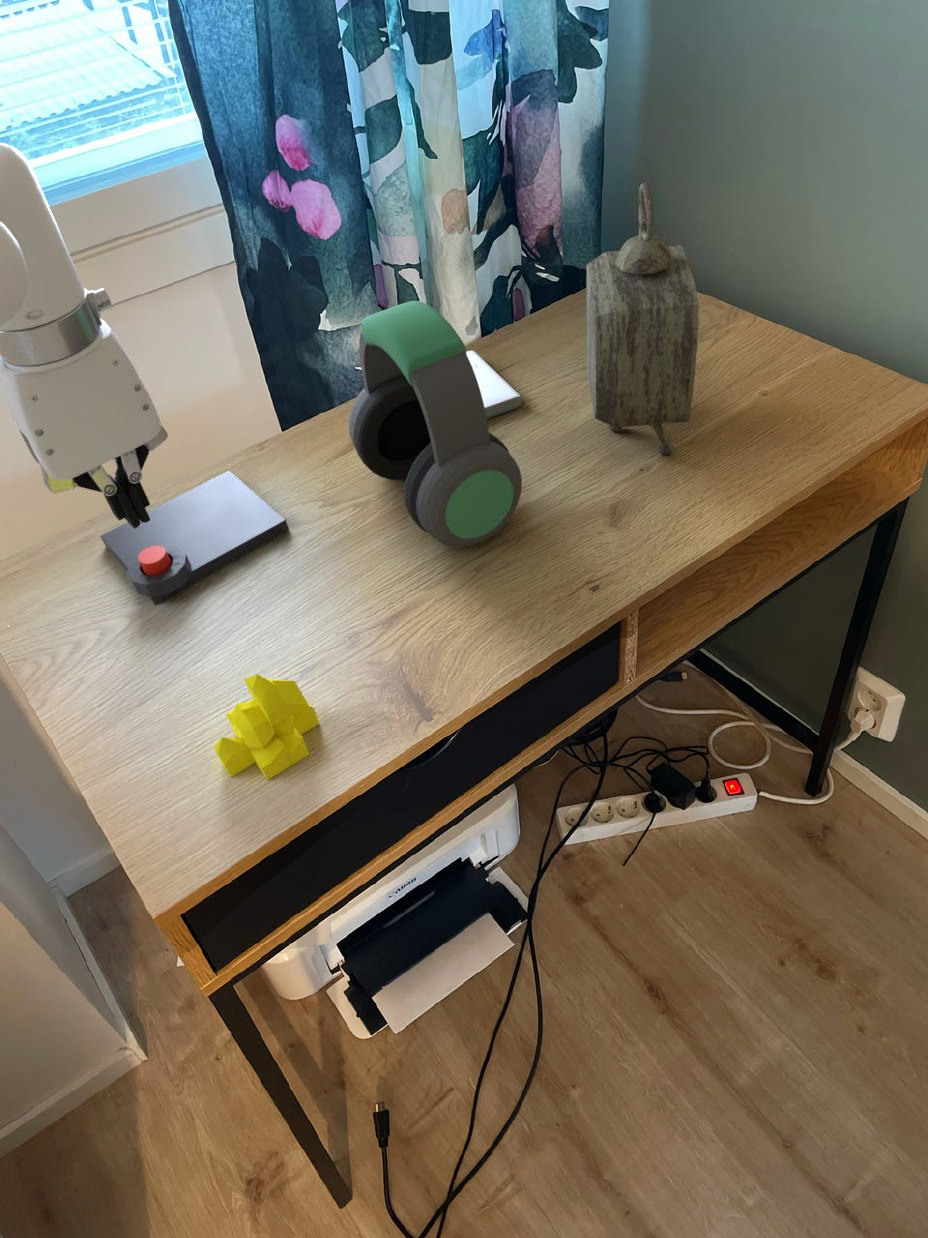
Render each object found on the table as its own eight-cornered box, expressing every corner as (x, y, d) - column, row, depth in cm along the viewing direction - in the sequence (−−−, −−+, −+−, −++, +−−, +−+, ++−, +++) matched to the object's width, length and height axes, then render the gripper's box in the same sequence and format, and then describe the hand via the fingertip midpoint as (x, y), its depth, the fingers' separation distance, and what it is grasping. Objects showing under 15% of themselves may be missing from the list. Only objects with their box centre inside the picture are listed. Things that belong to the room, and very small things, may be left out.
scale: (153, 615, 84) (141, 593, 81) (98, 549, 91) (86, 527, 89) (295, 536, 90) (288, 512, 87) (233, 480, 97) (224, 457, 95)
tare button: (151, 580, 83) (145, 568, 82) (139, 566, 85) (133, 554, 84) (176, 566, 84) (170, 554, 83) (164, 553, 86) (158, 541, 84)
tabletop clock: (686, 465, 91) (709, 215, 73) (596, 472, 92) (597, 226, 74) (667, 388, 101) (682, 152, 83) (586, 394, 102) (584, 162, 84)
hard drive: (456, 430, 100) (413, 380, 108) (522, 407, 101) (475, 359, 110) (455, 418, 98) (411, 368, 107) (521, 394, 100) (473, 347, 108)
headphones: (352, 474, 96) (309, 296, 82) (441, 437, 99) (415, 260, 85) (434, 573, 84) (401, 385, 69) (534, 528, 87) (521, 338, 72)
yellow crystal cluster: (211, 747, 72) (179, 685, 66) (297, 696, 75) (274, 633, 69) (242, 795, 68) (212, 734, 63) (332, 740, 71) (310, 677, 66)
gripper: (117, 277, 72) (191, 463, 85) (-68, 352, 66) (42, 538, 80) (157, 306, 68) (228, 497, 81) (-38, 388, 62) (73, 579, 75)
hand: (135, 517), depth 80 cm, fingers closed
